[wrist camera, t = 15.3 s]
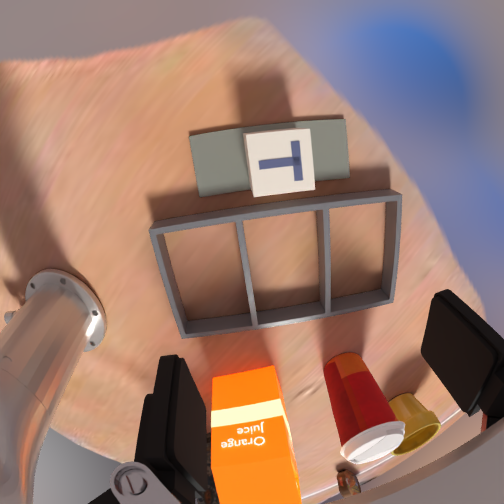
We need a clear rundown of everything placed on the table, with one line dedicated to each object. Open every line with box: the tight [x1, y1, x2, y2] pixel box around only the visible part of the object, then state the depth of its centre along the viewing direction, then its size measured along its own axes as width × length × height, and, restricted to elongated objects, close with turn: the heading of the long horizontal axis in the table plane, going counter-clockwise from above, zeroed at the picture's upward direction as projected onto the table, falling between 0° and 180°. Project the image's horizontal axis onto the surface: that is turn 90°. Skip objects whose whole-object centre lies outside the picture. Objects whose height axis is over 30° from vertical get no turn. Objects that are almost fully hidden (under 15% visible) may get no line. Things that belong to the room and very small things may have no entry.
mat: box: [189, 119, 350, 197], centre depth 27 cm, size 15×6×1 cm, turn 97°
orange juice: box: [211, 365, 301, 504], centre depth 31 cm, size 8×9×20 cm
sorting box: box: [149, 189, 402, 339], centre depth 31 cm, size 25×13×2 cm, turn 97°
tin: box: [337, 470, 361, 498], centre depth 57 cm, size 15×3×8 cm, turn 31°
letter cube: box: [243, 128, 315, 197], centre depth 25 cm, size 5×5×5 cm
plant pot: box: [388, 393, 441, 456], centre depth 42 cm, size 10×10×10 cm
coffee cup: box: [324, 352, 405, 464], centre depth 33 cm, size 8×8×15 cm
